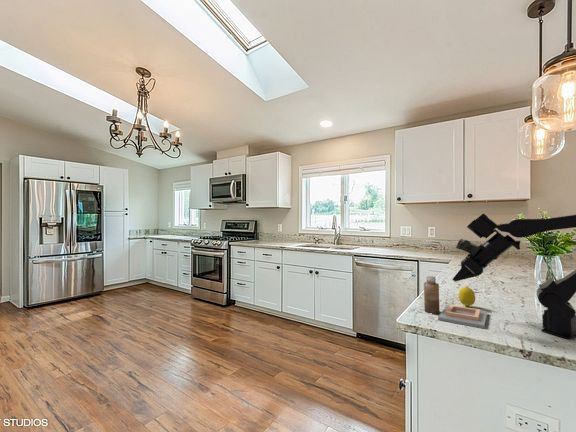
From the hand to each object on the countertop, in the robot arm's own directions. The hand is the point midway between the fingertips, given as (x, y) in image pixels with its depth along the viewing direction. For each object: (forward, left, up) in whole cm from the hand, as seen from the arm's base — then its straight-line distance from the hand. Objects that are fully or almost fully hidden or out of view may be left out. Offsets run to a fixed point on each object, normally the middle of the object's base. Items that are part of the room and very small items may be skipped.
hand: (455, 278), depth 99 cm
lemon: (+5, -12, -14) cm, 19 cm away
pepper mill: (+7, +4, -13) cm, 16 cm away
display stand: (-2, -1, -13) cm, 14 cm away
